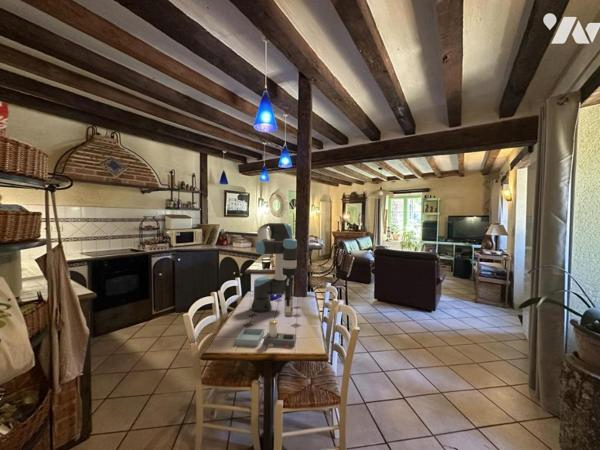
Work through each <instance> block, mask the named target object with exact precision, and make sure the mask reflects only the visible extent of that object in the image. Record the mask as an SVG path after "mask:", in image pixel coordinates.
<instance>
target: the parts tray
mask: <svg viewBox="0 0 600 450" xmlns="http://www.w3.org/2000/svg"><path fill="white" fill-rule="evenodd" d="M264 335H265V328H252V327H251V328H250V327H244V328H243V329H242V330H241V331H240V333H239V334H238V335H237V337H236V338H235V345H240V346H253V347H255V346H256V347H259V344H260V343H261V341H262V339H263V337H264Z"/></svg>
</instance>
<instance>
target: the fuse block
mask: <svg viewBox="0 0 600 450" xmlns="http://www.w3.org/2000/svg"><path fill="white" fill-rule="evenodd" d="M296 342H297V334H296V333H283V332H282V333H281V332H280V333H279V332H277V339H274V338H269V331H268V332H267V333H266V334H265V337H264V339H263V346H264V345H266V346H267V345H268V347H274V346H280V347H284V348H290V347H296Z"/></svg>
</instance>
